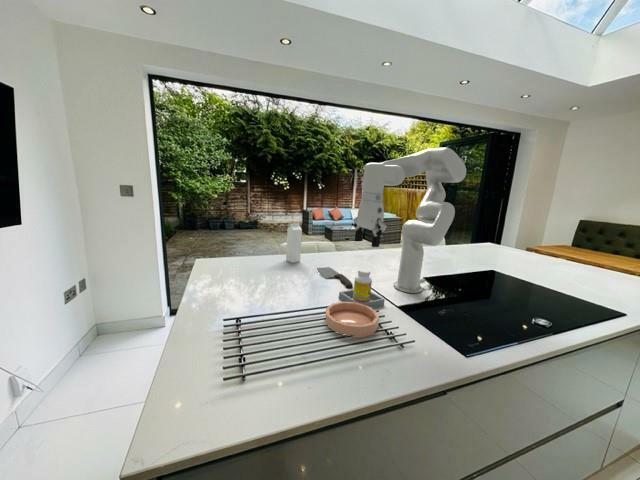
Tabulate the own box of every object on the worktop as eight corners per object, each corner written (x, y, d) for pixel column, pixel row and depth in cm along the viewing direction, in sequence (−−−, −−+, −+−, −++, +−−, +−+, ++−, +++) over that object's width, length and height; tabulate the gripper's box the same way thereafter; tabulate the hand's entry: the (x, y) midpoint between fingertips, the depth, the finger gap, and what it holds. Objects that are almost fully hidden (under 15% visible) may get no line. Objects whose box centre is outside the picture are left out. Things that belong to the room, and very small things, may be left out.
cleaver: (357, 288, 121) (357, 283, 121) (338, 290, 117) (338, 285, 116) (328, 268, 147) (328, 264, 147) (312, 269, 143) (312, 266, 143)
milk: (285, 260, 155) (287, 222, 150) (294, 259, 159) (296, 222, 154) (291, 263, 150) (293, 224, 146) (300, 261, 154) (302, 223, 150)
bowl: (355, 307, 101) (356, 298, 100) (388, 329, 86) (389, 319, 86) (316, 316, 92) (316, 306, 91) (345, 342, 78) (346, 331, 77)
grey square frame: (363, 293, 115) (363, 287, 114) (383, 305, 104) (384, 299, 104) (338, 297, 108) (339, 291, 108) (358, 311, 98) (359, 304, 97)
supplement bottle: (369, 306, 102) (372, 274, 100) (351, 303, 104) (355, 272, 101) (369, 299, 109) (373, 269, 106) (353, 296, 110) (356, 266, 107)
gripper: (396, 200, 93) (390, 248, 96) (364, 197, 107) (359, 238, 110) (380, 199, 89) (374, 249, 92) (349, 196, 103) (345, 239, 107)
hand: (366, 243), depth 101 cm, fingers open, 9 cm apart
